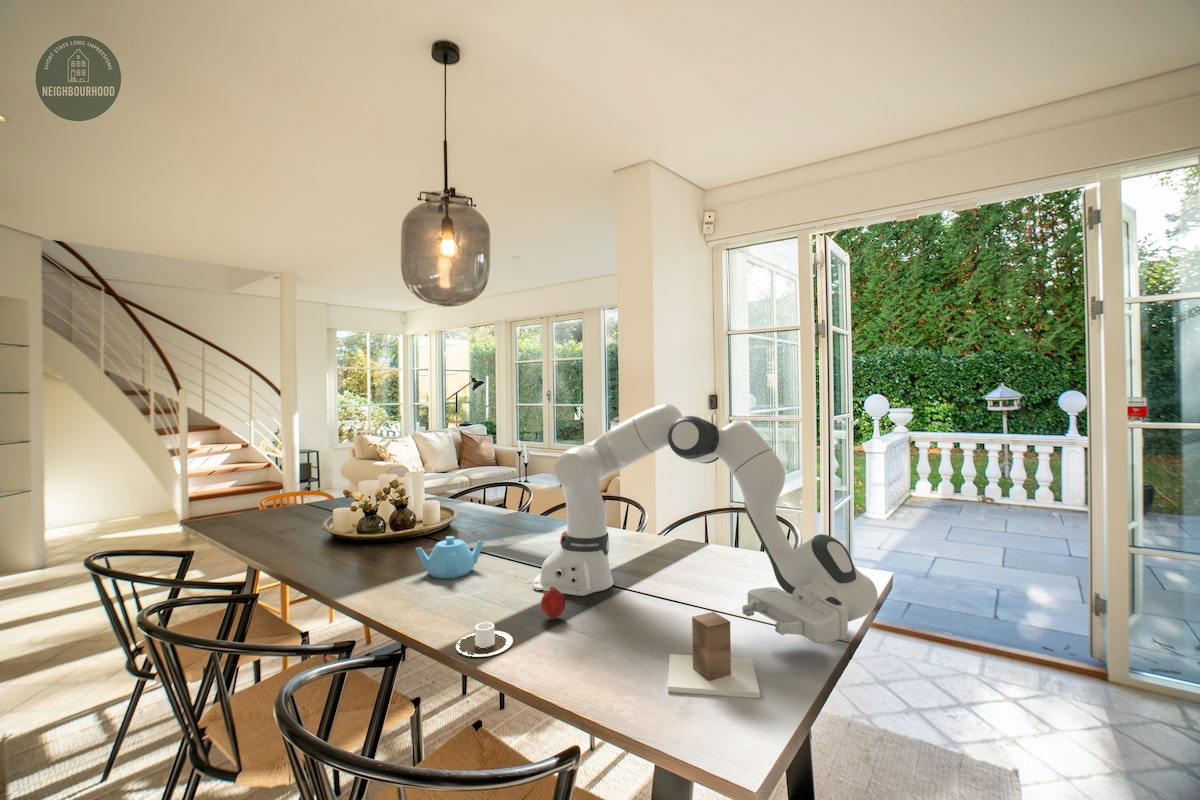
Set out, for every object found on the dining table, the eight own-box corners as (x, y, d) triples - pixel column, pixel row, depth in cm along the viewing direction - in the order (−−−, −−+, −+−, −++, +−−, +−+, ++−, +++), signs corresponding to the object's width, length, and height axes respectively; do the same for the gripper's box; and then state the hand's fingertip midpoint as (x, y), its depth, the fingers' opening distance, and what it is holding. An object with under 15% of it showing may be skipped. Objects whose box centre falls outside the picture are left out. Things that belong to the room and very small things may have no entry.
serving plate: (667, 691, 98) (667, 686, 98) (669, 659, 110) (669, 654, 110) (760, 698, 95) (759, 692, 95) (751, 663, 107) (751, 658, 107)
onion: (541, 614, 132) (541, 581, 132) (565, 613, 133) (564, 580, 133) (541, 624, 127) (540, 590, 126) (565, 623, 127) (565, 589, 127)
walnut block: (692, 668, 104) (692, 616, 103) (714, 662, 106) (713, 611, 106) (708, 681, 99) (708, 627, 99) (730, 674, 101) (730, 621, 101)
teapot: (487, 568, 168) (487, 533, 168) (454, 584, 155) (453, 546, 154) (449, 562, 175) (448, 528, 175) (414, 576, 161) (413, 540, 161)
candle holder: (501, 662, 110) (500, 641, 110) (446, 658, 112) (445, 637, 112) (520, 635, 122) (519, 616, 122) (470, 632, 124) (469, 613, 124)
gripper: (776, 576, 122) (726, 587, 116) (853, 608, 104) (798, 623, 98) (777, 604, 122) (727, 616, 116) (854, 641, 104) (799, 658, 98)
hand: (760, 619), depth 107 cm, fingers open, 8 cm apart
